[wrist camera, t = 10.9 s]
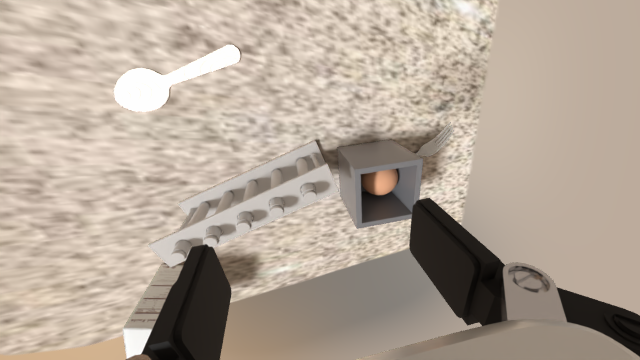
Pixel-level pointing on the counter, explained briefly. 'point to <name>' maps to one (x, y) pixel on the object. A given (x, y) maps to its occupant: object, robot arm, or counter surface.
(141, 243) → the counter surface
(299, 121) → the counter surface
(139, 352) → the supplement box
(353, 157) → the grey open square box
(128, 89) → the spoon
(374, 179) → the ball
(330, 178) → the test tube rack
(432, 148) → the fork
